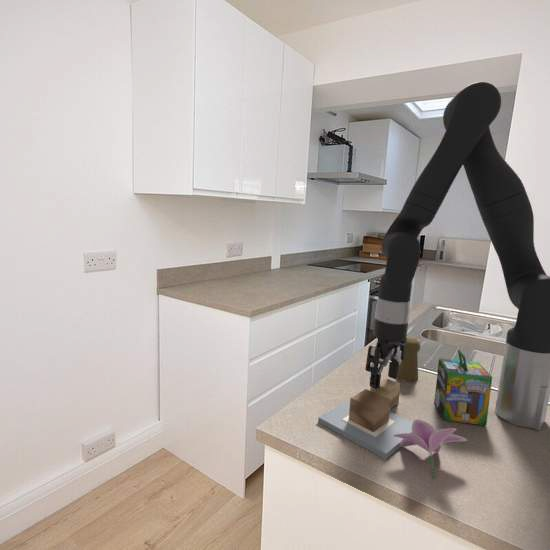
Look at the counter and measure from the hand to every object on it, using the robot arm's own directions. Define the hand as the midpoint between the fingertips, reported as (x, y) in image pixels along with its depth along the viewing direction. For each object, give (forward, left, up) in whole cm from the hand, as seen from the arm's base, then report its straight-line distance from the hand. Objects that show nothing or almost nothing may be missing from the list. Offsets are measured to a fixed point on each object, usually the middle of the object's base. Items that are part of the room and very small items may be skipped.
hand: (383, 382), depth 88 cm
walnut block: (-3, +12, -4) cm, 13 cm away
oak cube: (0, 0, -5) cm, 5 cm away
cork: (+3, -18, -5) cm, 19 cm away
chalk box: (-14, -9, -5) cm, 18 cm away
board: (-3, +12, -5) cm, 13 cm away
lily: (-17, +14, -5) cm, 22 cm away
